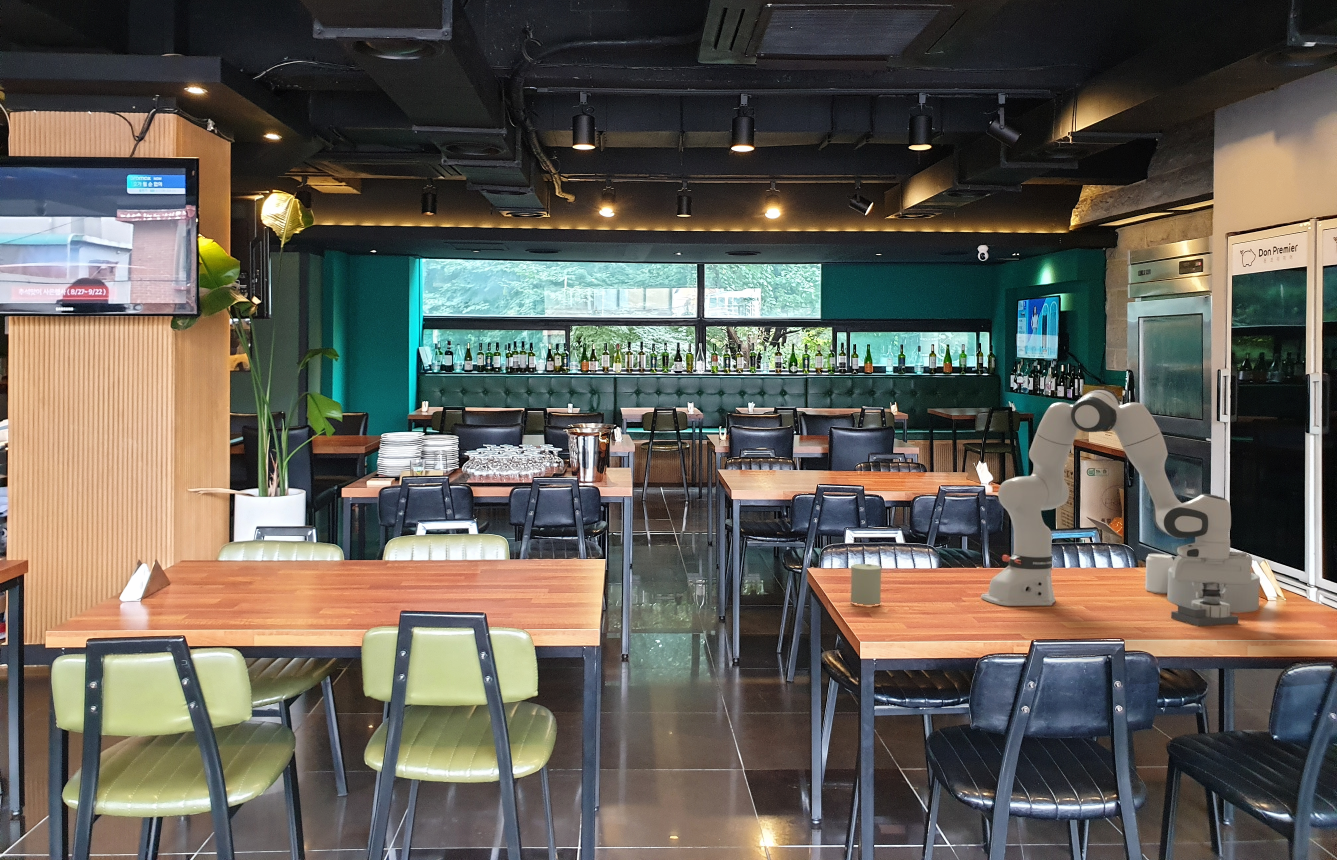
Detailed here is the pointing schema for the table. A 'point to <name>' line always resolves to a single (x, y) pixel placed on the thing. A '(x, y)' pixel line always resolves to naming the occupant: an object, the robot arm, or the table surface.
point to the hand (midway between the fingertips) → (1210, 598)
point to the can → (866, 584)
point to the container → (1236, 597)
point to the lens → (1211, 593)
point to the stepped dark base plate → (1204, 614)
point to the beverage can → (1158, 572)
